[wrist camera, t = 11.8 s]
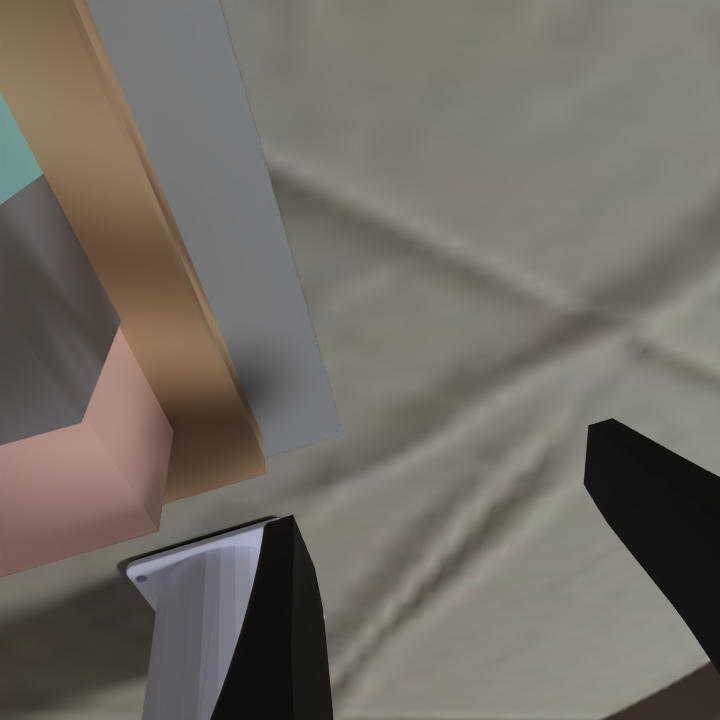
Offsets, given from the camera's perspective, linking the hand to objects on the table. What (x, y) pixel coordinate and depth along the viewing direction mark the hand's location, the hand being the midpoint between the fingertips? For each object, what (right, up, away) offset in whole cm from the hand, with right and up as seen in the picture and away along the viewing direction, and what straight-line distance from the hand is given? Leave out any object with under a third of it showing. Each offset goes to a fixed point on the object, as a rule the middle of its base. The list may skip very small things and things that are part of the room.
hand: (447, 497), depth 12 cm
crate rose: (-10, +2, +3) cm, 11 cm away
